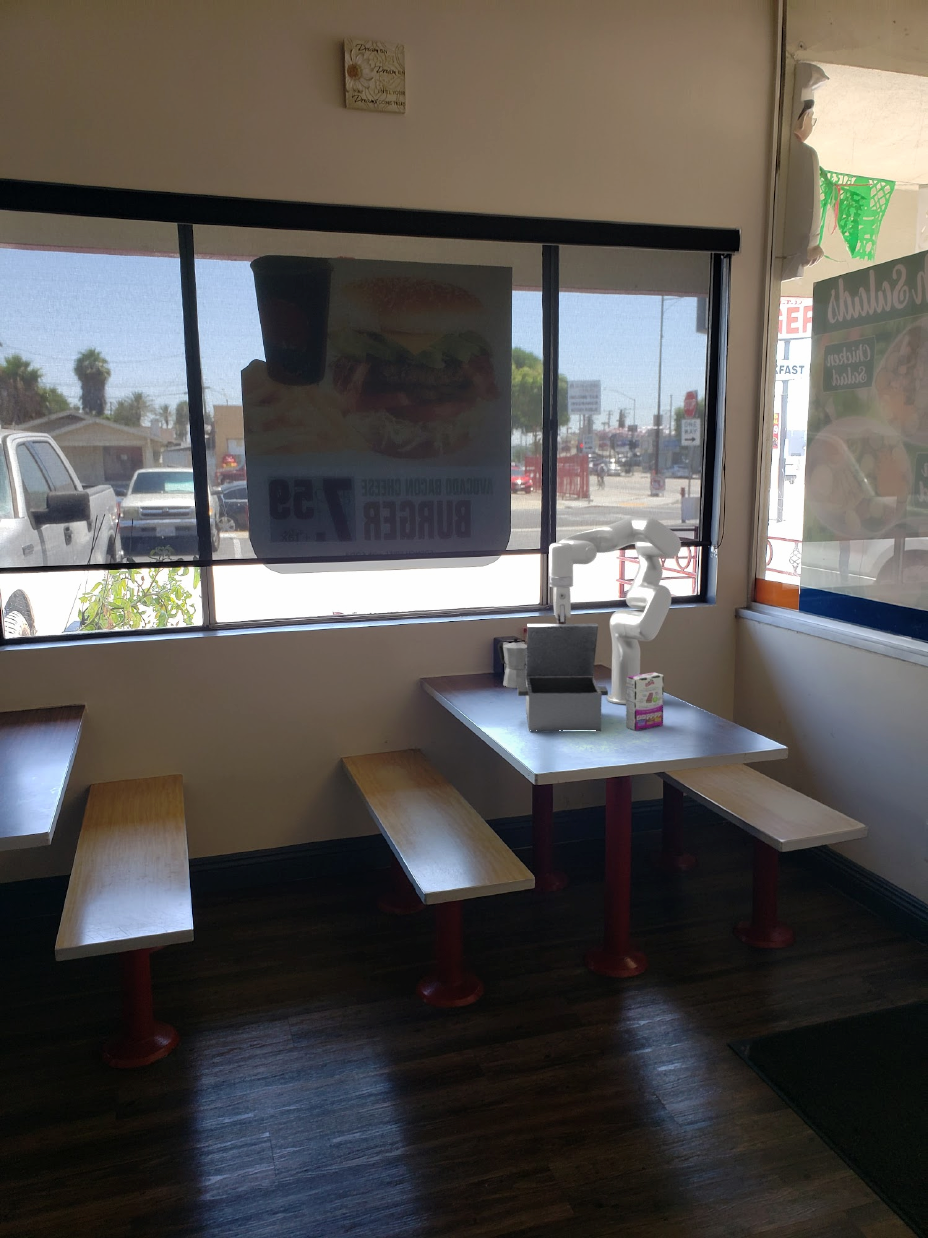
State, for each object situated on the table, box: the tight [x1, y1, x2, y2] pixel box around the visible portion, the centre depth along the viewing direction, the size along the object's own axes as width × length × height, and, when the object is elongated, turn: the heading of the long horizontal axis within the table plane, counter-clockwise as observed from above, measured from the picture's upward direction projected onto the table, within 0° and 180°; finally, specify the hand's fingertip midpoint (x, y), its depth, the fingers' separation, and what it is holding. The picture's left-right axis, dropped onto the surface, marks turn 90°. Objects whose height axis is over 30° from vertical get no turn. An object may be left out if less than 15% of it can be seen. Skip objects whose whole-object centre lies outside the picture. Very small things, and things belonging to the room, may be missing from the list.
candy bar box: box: [625, 672, 665, 732], centre depth 278 cm, size 11×5×16 cm, turn 118°
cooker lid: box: [525, 623, 599, 677], centre depth 289 cm, size 22×22×3 cm
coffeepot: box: [497, 637, 527, 689], centre depth 333 cm, size 15×9×18 cm, turn 44°
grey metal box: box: [517, 676, 609, 732], centre depth 285 cm, size 28×22×12 cm
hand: (561, 638), depth 289 cm, fingers closed
